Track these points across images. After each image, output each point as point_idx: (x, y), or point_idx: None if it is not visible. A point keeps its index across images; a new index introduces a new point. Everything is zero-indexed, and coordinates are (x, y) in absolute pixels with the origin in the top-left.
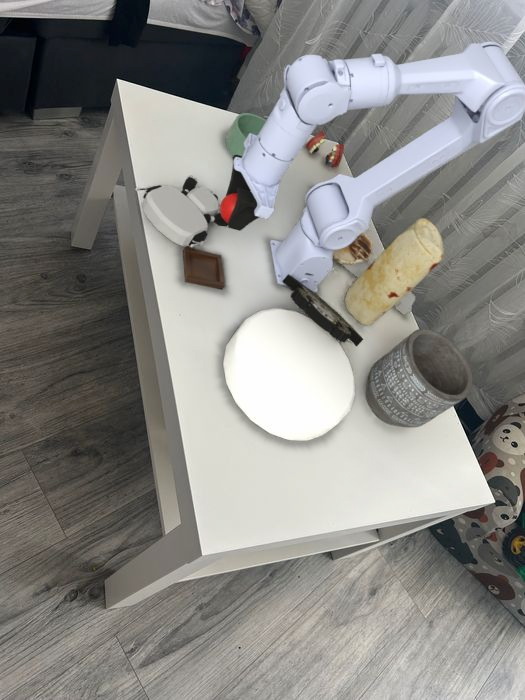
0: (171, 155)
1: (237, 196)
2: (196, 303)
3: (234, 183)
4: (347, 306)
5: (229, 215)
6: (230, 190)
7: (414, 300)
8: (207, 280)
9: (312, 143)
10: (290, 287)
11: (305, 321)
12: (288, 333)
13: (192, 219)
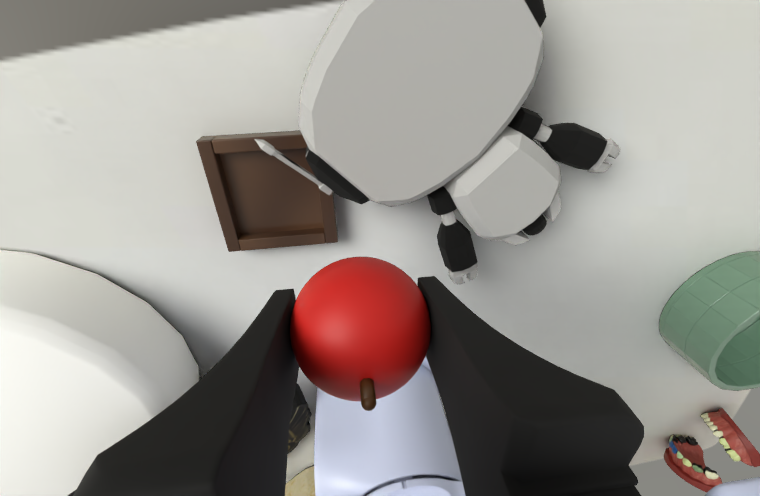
0: (708, 92)
1: (205, 432)
2: (140, 172)
3: (456, 350)
4: (313, 470)
5: (296, 305)
6: (438, 316)
7: None
8: (222, 204)
9: (728, 431)
10: None
11: None
12: (64, 417)
13: (390, 148)
